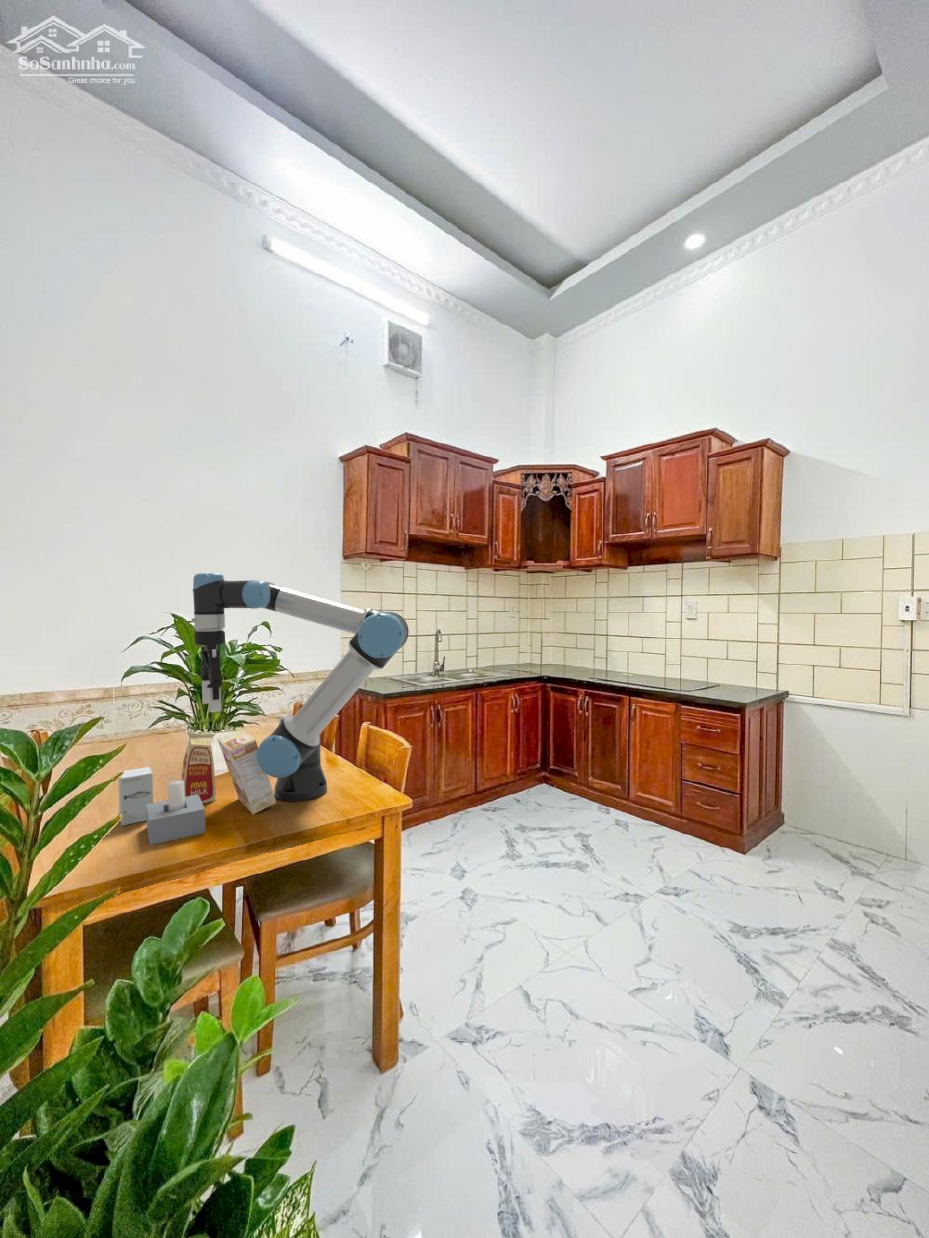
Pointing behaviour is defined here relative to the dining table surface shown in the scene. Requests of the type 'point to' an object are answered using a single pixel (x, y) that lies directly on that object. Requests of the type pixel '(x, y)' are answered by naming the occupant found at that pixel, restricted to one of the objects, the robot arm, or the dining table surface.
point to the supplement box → (135, 794)
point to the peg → (176, 795)
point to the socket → (175, 820)
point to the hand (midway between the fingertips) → (211, 707)
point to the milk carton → (199, 768)
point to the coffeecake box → (246, 771)
